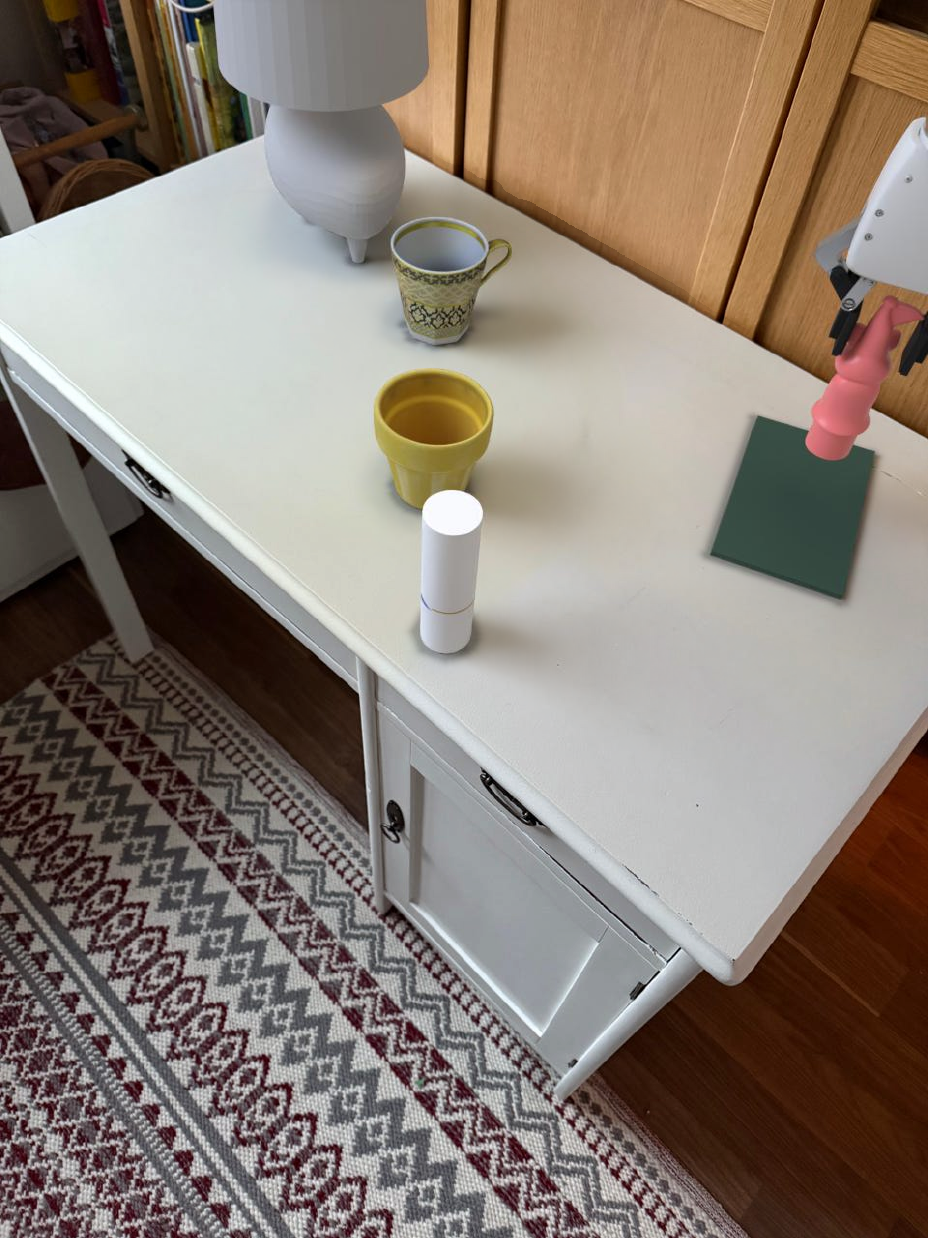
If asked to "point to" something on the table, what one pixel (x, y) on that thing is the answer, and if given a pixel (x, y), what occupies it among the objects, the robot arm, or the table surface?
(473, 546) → the tube
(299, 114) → the table lamp
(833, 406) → the figurine
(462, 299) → the ceramic cup
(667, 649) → the table surface
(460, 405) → the flower pot
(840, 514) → the mat
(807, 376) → the table surface
